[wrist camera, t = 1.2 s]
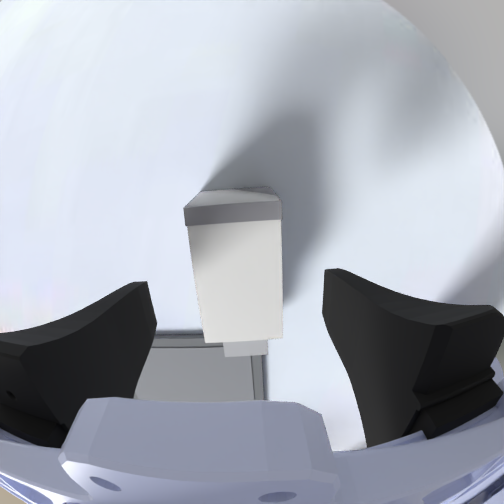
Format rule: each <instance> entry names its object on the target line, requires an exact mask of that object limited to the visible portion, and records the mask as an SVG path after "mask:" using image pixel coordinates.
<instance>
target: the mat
mask: <svg viewBox="0 0 504 504" xmlns="http://www.w3.org/2000/svg"><path fill="white" fill-rule="evenodd" d="M134 399H140V400H152V401H170V402H236V401H254V400H264V393H263V374H262V355H254V356H237V357H225V353H224V347H223V342H219V343H205V339H204V334H196V335H155V336H154V340H153V344H152V346H151V349H150V352H149V354H148V357H147V359H146V362H145V365H144V367H143V370H142V372H141V375H140V378H139V380H138V383H137V387H136V390H135V394H134Z"/></svg>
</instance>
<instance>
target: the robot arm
mask: <svg viewBox="0 0 504 504" xmlns="http://www.w3.org/2000/svg"><path fill="white" fill-rule="evenodd" d="M322 314H323V318H324V321H325V324H326V328H327V331H328V333H329V335H330V338H331V340H332V342H333V344H334V346H335V348H336V350H337V352H338V354H339V356H340V358H341V360H342V363H343V365H344V367H345V369H346V371H347V373H348V376H349V378H350V381H351V384H352V388H353V391H354V394H355V397H356V401H357V405H358V408H359V412H360V416H361V420H362V424H363V429H364V433H365V438H366V443H367V448H366V449H362V450H352V451H334V452H332V450H331V446H330V442H329V439H328V435H327V432H326V428H325V425H324V421H323V418H322V414H320V413H318V412H316V411H314V410H312V409H310V408H307V407H305V406H303V405H301V404H299V403H296V402H283V401H268V400H254V401H236V402H170V401H152V400H140V399H134V394H135V390H136V387H137V383H138V380H139V378H140V375H141V372H142V370H143V367H144V365H145V362H146V359H147V357H148V354H149V352H150V349H151V346H152V344H153V340H154V336H155V331H156V326H157V321H156V317H155V313H154V309H153V305H152V301H151V297H150V292H149V288H148V283H147V281H144V282H132V283H129V284H127V285H125V286H123V287H121V288H119V289H118V290H116V291H114V292H112V293H111V294H109V295H107V296H105V297H104V298H102V299H100V300H98V301H97V302H95V303H93V304H91V305H89V306H87V307H85V308H84V309H82V310H80V311H78V312H75V313H73V314H71V315H69V316H66V317H64V318H61V319H59V320H56V321H53V322H50V323H47V324H44V325H41V326H37V327H33V328H29V329H25V330H20V331H14V332H7V333H0V486H1V487H2V488H4V489H5V490H7V491H8V492H10V493H11V494H13V495H14V496H16V497H18V498H20V499H21V500H23V501H24V502H26V503H28V504H504V376H503V371H502V367H501V365H500V363H499V361H498V359H497V358H496V357H495V356H496V354H497V351H498V349H499V347H500V345H501V343H502V340H503V337H504V316H503V314H502V313H500V312H499V311H498V310H497V309H495V308H494V307H493V306H491V305H456V304H446V303H438V302H433V301H428V300H423V299H419V298H414V297H411V296H408V295H404V294H401V293H398V292H395V291H392V290H390V289H387V288H385V287H382V286H380V285H377V284H375V283H373V282H370V281H368V280H366V279H364V278H362V277H360V276H357V275H355V274H353V273H351V272H348V271H346V270H343V269H340V268H337V269H326V270H325V273H324V292H323V308H322Z"/></svg>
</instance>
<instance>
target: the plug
mask: <svg viewBox="0 0 504 504" xmlns="http://www.w3.org/2000/svg"><path fill="white" fill-rule="evenodd" d="M184 217H185V225H186V226H187V228H188V236H189V244H190V252H191V259H192V266H193V273H194V279H195V286H196V292H197V299H198V305H199V311H200V316H201V322H202V328H203V333H204V339H205V343H219V342H223V347H224V353H225V357H237V356H254V355H267V354H268V343H267V340H268V339H280V338H283V290H282V240H281V220H282V201H281V199H280V198H279V197H278V196H277V195H276V193H275V192H274V191H273V190H272V189H271V188H270V187H254V188H239V189H225V190H213V191H201V192H199V193H198V194H197V195H196V196H195V197H194V198H193V199H192V200H191V201H190V202H189V203H188V204H187V205H186V206H185V207H184Z"/></svg>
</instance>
